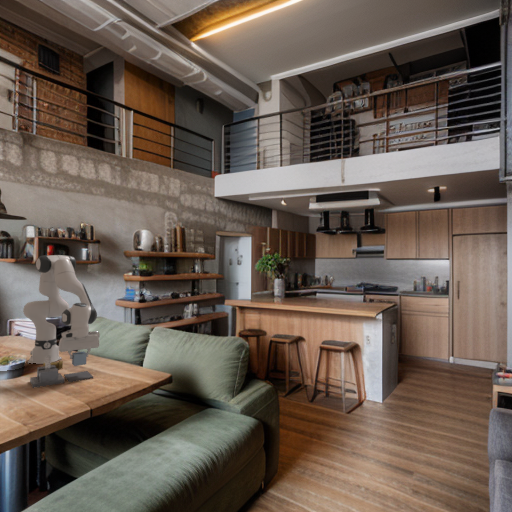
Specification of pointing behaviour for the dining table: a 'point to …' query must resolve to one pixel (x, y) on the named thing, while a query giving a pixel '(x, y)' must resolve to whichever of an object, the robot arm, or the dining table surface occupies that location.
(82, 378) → the mat
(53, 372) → the vise
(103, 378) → the dining table surface
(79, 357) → the blue-grey cube
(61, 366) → the gavel
